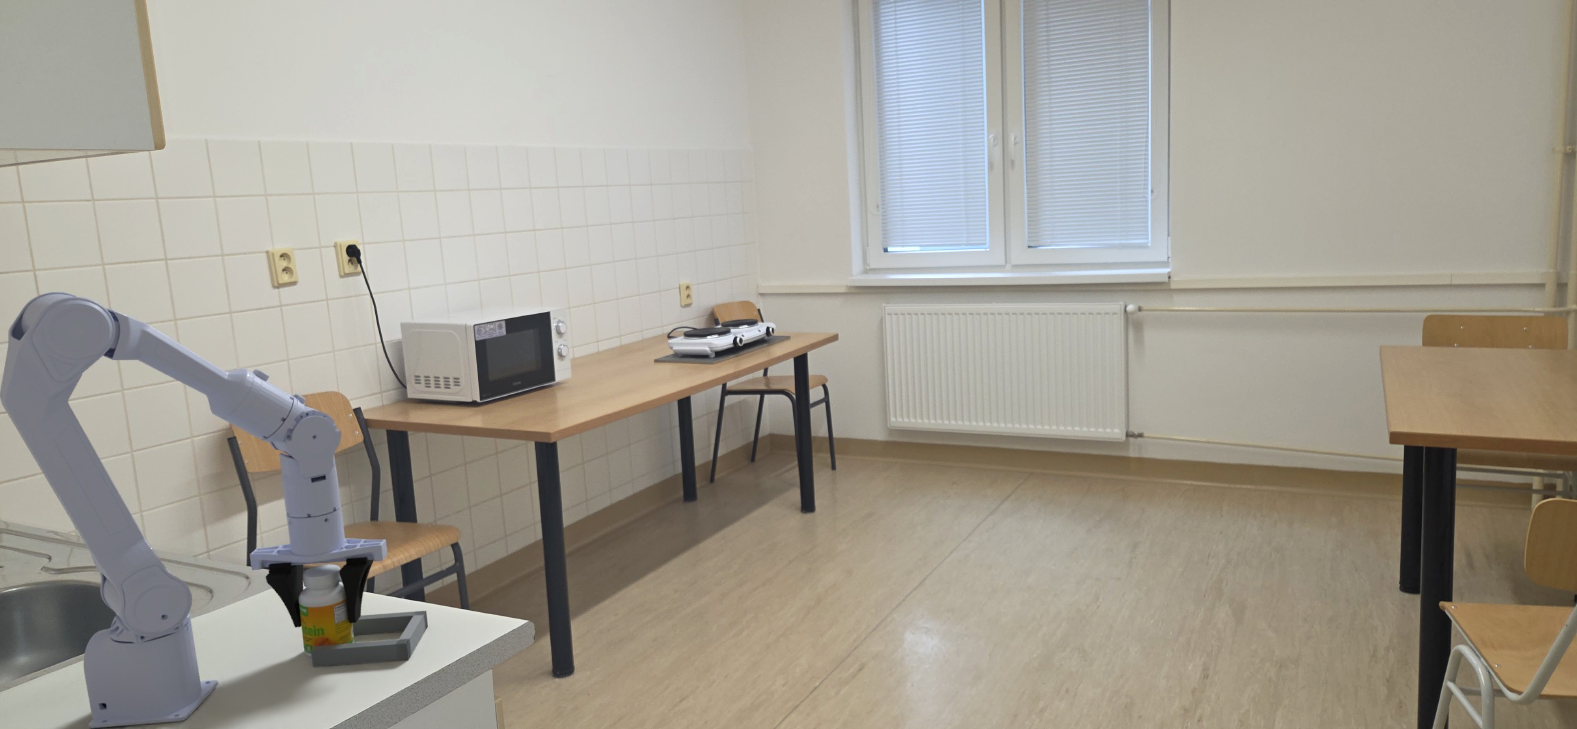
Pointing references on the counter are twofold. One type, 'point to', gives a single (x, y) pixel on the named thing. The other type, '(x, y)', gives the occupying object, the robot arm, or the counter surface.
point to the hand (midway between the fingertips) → (328, 621)
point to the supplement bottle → (324, 609)
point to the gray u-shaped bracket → (377, 650)
